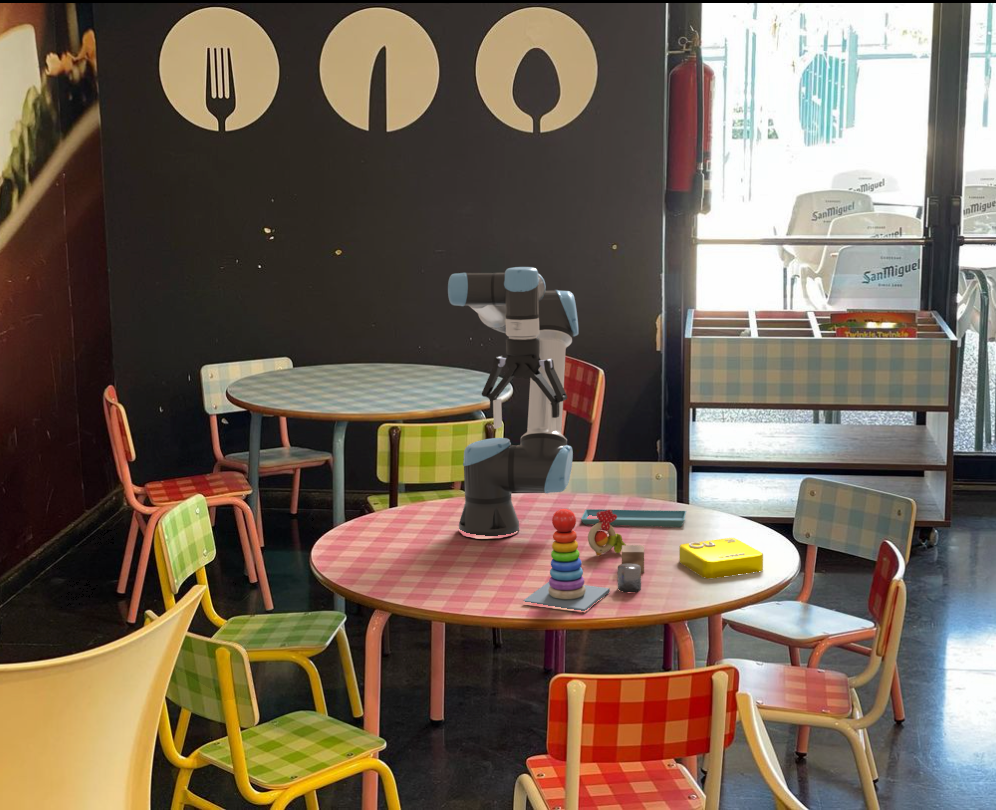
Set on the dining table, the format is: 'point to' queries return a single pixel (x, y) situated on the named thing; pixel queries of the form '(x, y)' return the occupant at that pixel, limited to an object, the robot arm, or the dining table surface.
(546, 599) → the pad
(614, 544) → the bird rattle
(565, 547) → the stacking toy
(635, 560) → the walnut cube
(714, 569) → the element tile
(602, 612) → the dining table surface
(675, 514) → the rectangular tray
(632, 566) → the graphite cylinder
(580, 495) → the dining table surface
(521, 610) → the dining table surface
